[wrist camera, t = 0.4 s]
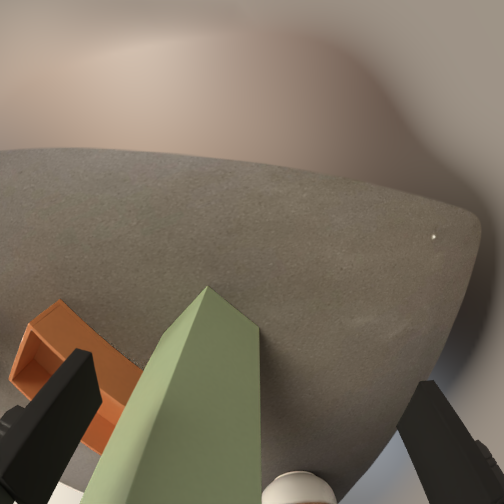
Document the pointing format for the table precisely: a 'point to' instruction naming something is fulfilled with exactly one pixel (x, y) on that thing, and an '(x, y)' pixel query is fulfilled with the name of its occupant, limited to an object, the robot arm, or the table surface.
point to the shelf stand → (190, 417)
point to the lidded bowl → (298, 490)
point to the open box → (57, 351)
